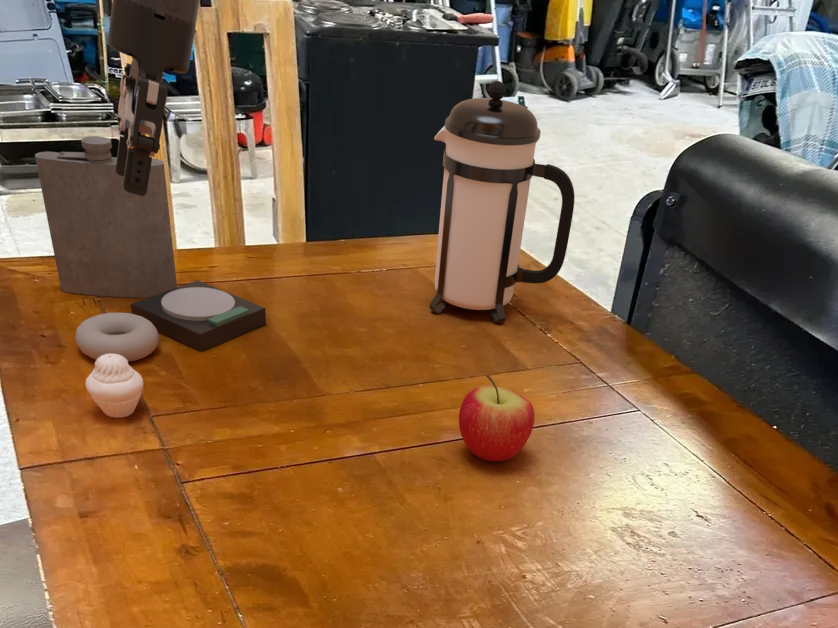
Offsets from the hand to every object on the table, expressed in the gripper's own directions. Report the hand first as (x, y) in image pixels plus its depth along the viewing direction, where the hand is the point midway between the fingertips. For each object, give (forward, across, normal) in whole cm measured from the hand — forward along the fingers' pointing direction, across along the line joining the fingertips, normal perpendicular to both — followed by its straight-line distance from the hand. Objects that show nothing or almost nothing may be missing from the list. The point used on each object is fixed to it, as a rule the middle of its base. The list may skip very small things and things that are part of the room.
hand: (129, 184), depth 91 cm
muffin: (+24, +2, +2) cm, 24 cm away
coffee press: (+6, -20, +54) cm, 57 cm away
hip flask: (+20, -32, +4) cm, 38 cm away
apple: (+15, +20, +40) cm, 47 cm away
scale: (+18, -20, +14) cm, 30 cm away
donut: (+22, -14, +3) cm, 26 cm away
